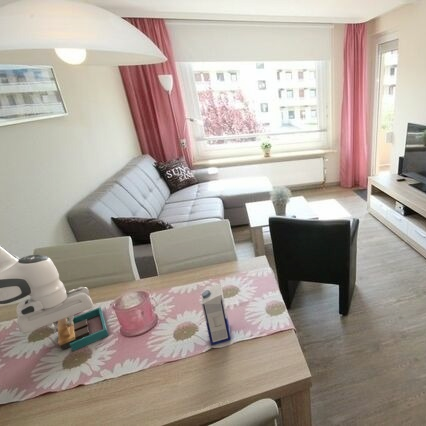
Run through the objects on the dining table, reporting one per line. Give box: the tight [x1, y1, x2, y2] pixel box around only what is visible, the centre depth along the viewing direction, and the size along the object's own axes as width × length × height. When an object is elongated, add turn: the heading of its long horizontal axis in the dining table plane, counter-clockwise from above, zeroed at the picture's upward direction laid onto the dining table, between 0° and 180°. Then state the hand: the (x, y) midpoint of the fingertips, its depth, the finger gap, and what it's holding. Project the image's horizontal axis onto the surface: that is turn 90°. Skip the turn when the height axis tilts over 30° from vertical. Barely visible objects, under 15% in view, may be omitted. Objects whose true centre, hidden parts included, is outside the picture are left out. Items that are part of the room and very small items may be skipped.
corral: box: [68, 306, 109, 352], centre depth 113 cm, size 11×18×3 cm, turn 41°
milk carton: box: [201, 283, 232, 346], centre depth 104 cm, size 7×7×20 cm
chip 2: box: [75, 327, 91, 341], centre depth 110 cm, size 4×4×2 cm
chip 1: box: [74, 319, 90, 331], centre depth 114 cm, size 4×4×2 cm
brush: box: [57, 318, 76, 351], centre depth 108 cm, size 4×12×7 cm, turn 41°
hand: (64, 328), depth 108 cm, fingers closed on brush, 2 cm apart
